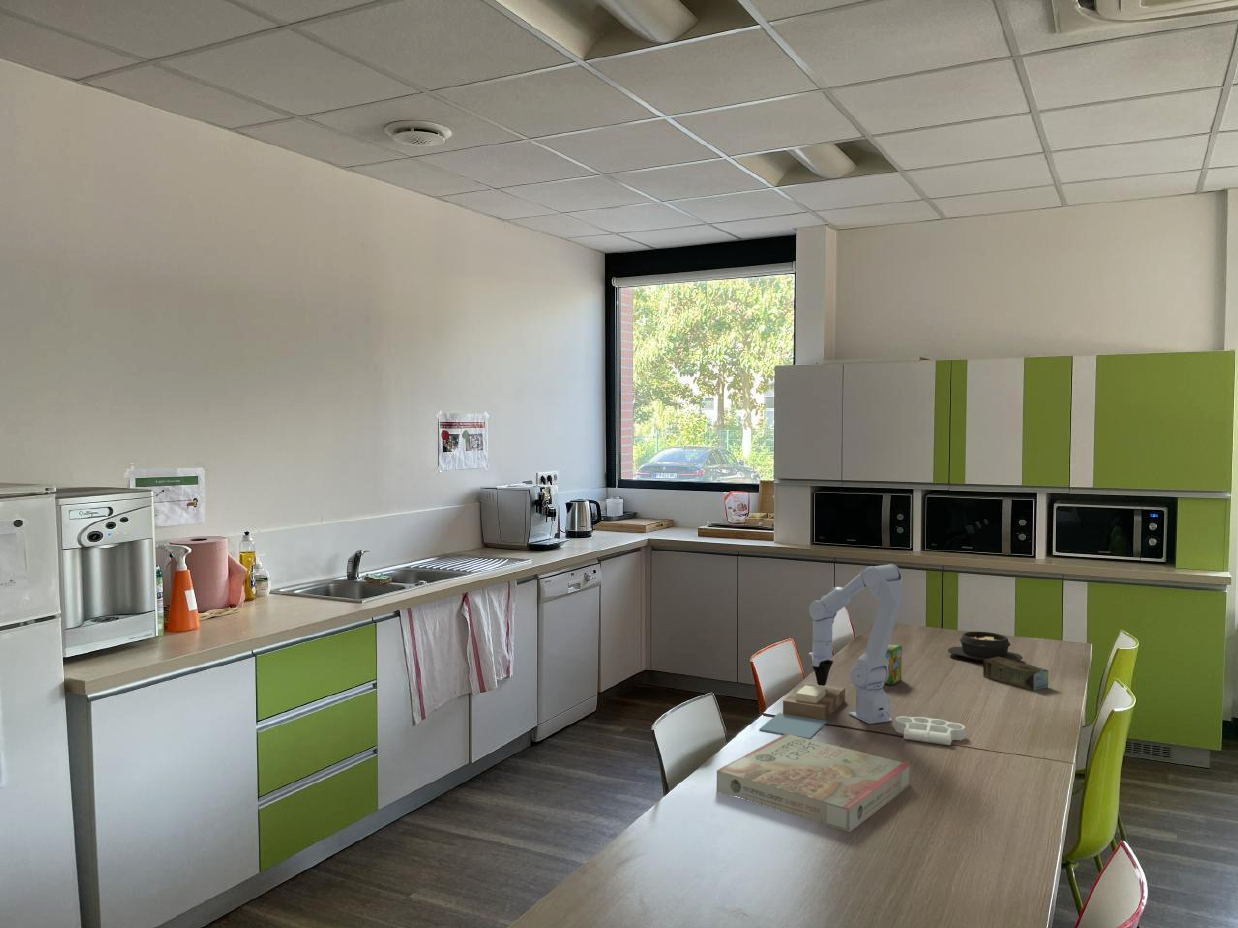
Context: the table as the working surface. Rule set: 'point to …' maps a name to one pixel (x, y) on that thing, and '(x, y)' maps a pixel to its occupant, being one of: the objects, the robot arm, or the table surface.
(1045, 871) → the table surface
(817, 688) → the tile
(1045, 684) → the beverage carton
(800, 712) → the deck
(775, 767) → the pizza box
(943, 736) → the knuckle duster
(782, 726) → the mat
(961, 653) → the casserole
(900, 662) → the chalk box
